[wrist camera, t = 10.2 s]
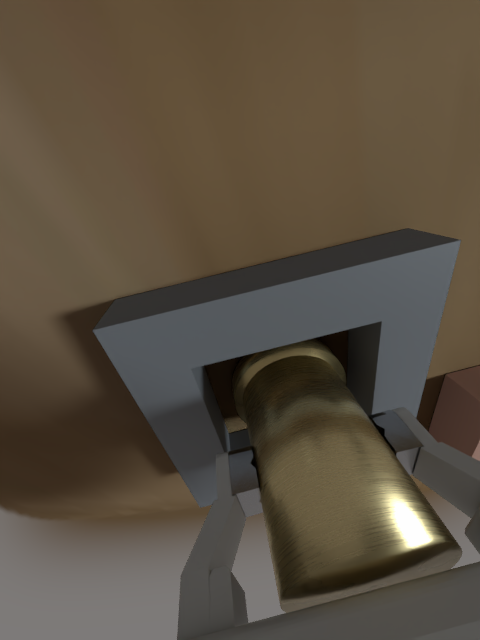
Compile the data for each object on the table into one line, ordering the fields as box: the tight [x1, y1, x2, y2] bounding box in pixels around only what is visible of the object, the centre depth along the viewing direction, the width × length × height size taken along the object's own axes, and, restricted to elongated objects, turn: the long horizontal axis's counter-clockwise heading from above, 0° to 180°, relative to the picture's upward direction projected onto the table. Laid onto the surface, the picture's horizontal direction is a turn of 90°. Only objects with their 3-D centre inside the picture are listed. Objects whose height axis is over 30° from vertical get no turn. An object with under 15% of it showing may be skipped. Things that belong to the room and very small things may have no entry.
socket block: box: [93, 228, 461, 508], centre depth 13 cm, size 13×13×2 cm
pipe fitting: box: [232, 338, 462, 613], centre depth 10 cm, size 6×6×8 cm
